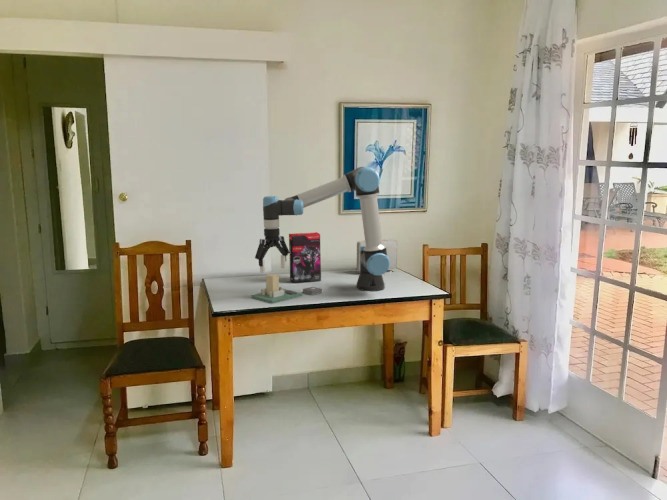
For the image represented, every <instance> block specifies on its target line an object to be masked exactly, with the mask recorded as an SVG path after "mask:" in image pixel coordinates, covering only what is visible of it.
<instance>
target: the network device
mask: <svg viewBox="0 0 667 500" xmlns="http://www.w3.org/2000/svg"><path fill="white" fill-rule="evenodd" d="M356 242H357V243H356V271H358V272H360V248H361V246H366V244H365V240H359V241H356ZM382 242H383V244H384V245H385V246H386V250H387V256H388V258H389V260H390V267H389V269H388V271H387V272H386V273H387V274H392V273H393V271H392V270H396V269H397V267H398V266H397V264H398V240H397V239H395V238H387V239H384V238H382ZM383 275H386V274H385V273H384V274H383Z"/></svg>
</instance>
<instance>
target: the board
mask: <svg viewBox="0 0 667 500" xmlns="http://www.w3.org/2000/svg"><path fill="white" fill-rule="evenodd" d="M250 296H251V298H252V299H255V300H259V301H262V302H265V303H266V302H267V303H270V304H276V303H280V302H283V301H289V300H291V299H295V298H299V297H303V292H298V291H293V290H290V289H286V288H282V286H279V291H276V292H270V295H266V288H262V289H261V290H260V293H253V294H251V295H250Z"/></svg>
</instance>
